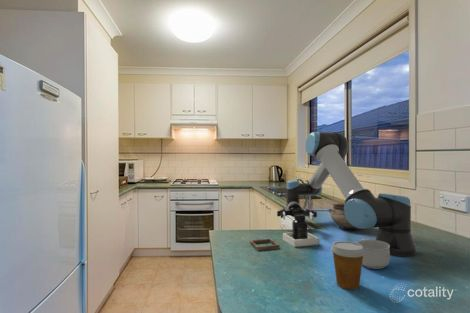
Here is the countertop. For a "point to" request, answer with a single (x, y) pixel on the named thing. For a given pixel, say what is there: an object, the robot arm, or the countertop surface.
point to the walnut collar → (259, 248)
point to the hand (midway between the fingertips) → (298, 217)
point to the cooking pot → (340, 216)
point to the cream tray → (301, 240)
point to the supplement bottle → (299, 227)
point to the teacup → (375, 253)
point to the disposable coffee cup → (348, 263)
